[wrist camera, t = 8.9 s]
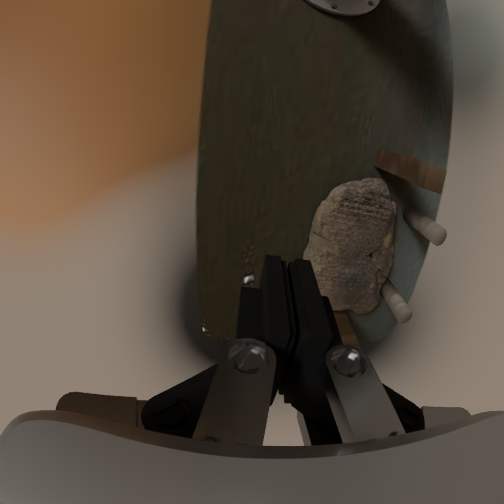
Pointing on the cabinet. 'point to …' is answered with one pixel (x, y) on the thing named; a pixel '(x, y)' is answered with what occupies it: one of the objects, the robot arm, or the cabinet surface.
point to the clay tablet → (353, 244)
